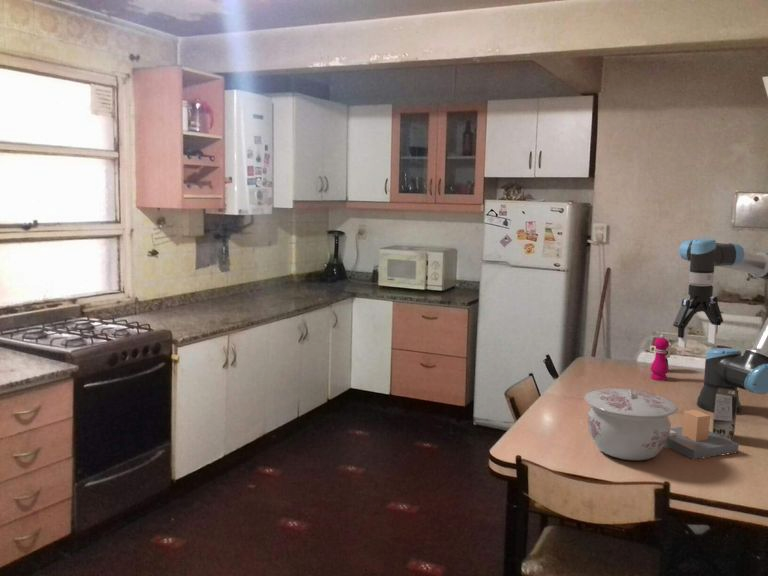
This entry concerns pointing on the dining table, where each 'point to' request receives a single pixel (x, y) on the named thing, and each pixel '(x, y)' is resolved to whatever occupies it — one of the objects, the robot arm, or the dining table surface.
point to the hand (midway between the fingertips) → (697, 344)
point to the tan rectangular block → (695, 425)
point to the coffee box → (725, 413)
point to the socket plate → (700, 445)
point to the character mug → (666, 353)
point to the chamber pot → (629, 422)
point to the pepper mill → (660, 359)
